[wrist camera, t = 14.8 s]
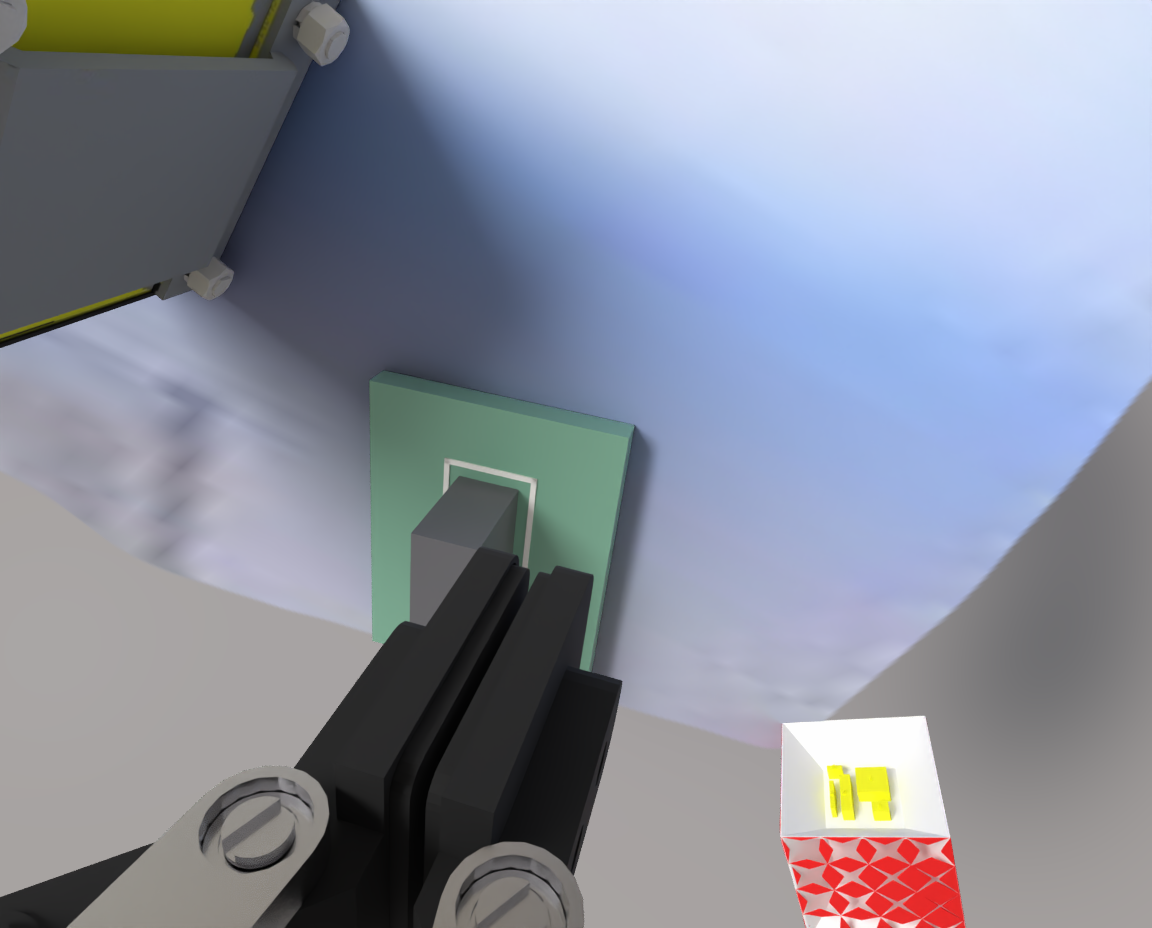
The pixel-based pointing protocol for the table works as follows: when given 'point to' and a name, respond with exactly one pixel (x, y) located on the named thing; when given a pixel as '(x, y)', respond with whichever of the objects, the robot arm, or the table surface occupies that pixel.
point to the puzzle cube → (867, 825)
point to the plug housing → (457, 539)
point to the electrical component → (137, 143)
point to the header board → (499, 456)
